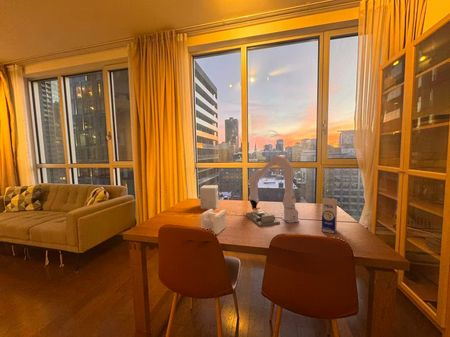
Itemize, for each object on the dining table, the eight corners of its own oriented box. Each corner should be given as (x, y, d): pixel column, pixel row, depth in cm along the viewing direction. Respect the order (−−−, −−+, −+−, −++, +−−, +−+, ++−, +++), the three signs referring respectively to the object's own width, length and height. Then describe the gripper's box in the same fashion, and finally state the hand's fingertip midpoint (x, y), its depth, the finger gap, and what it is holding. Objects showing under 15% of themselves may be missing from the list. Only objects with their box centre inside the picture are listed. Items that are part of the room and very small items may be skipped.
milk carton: (321, 231, 122) (321, 197, 120) (323, 227, 127) (324, 195, 125) (335, 234, 118) (336, 198, 116) (336, 230, 123) (337, 196, 121)
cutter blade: (265, 216, 146) (265, 211, 145) (258, 217, 144) (258, 211, 144) (259, 212, 154) (259, 207, 154) (253, 213, 153) (253, 208, 153)
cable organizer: (212, 225, 137) (211, 207, 136) (227, 227, 133) (226, 209, 131) (200, 234, 123) (200, 214, 122) (217, 236, 119) (216, 216, 118)
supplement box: (219, 204, 185) (218, 185, 183) (216, 209, 172) (215, 187, 170) (204, 204, 187) (203, 185, 185) (200, 208, 174) (199, 187, 172)
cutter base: (279, 223, 135) (279, 215, 135) (259, 226, 132) (259, 218, 131) (263, 213, 158) (263, 205, 158) (246, 215, 155) (245, 207, 154)
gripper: (245, 190, 163) (245, 207, 164) (252, 194, 149) (252, 213, 150) (253, 189, 164) (254, 206, 166) (261, 193, 150) (262, 212, 152)
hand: (254, 209), depth 158 cm, fingers closed
